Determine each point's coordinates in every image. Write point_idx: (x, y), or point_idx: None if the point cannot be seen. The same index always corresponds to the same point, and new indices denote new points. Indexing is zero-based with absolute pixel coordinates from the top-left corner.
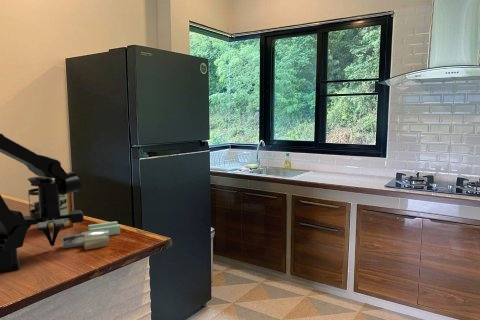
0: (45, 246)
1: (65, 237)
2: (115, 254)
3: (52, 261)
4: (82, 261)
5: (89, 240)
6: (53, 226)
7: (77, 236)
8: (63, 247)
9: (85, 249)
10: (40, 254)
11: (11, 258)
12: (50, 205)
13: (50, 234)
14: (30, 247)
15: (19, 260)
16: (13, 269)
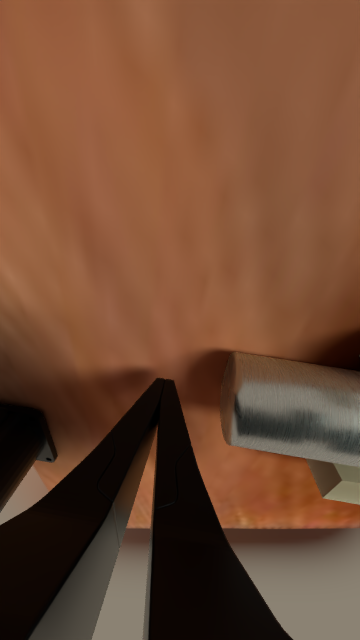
0: (135, 286)
1: (249, 447)
2: (347, 510)
3: (153, 457)
4: (235, 495)
5: (347, 498)
6: (145, 614)
7: (332, 461)
8: (221, 392)
9: None
10: (112, 385)
11: (4, 505)
12: None
13: (133, 489)
14: (38, 244)
15: (37, 421)
16: (41, 458)
